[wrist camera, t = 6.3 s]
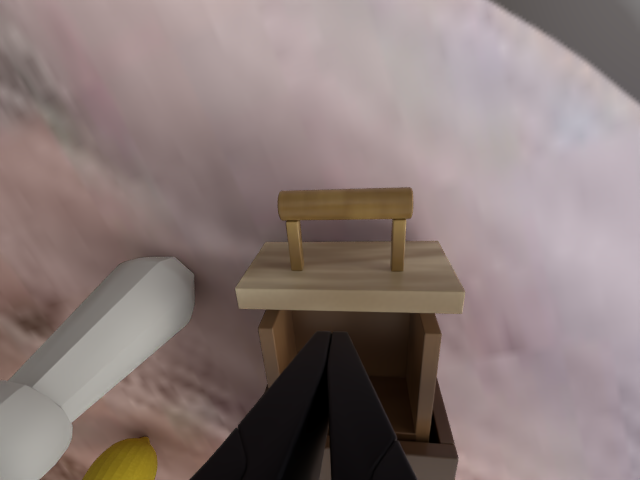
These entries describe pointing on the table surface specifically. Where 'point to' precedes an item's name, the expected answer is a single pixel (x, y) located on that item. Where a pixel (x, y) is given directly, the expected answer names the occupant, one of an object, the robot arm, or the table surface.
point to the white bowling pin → (89, 360)
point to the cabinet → (422, 448)
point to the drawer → (358, 297)
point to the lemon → (125, 462)
